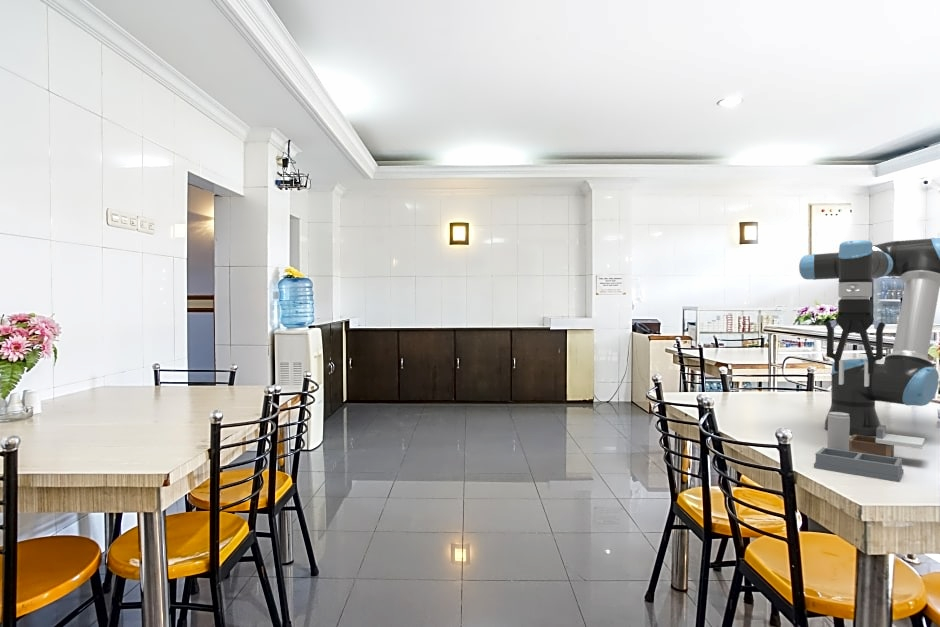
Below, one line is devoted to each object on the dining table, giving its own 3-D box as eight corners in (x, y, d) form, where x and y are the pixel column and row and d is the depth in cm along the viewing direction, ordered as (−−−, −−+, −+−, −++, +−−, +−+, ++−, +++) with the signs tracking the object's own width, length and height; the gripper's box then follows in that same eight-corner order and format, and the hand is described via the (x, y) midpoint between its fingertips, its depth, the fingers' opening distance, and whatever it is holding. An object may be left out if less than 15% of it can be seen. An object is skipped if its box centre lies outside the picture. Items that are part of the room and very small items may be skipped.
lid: (880, 436, 155) (880, 424, 155) (924, 442, 149) (924, 429, 149) (875, 442, 148) (875, 429, 148) (921, 448, 142) (922, 435, 142)
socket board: (821, 460, 149) (821, 447, 149) (903, 473, 138) (903, 458, 138) (813, 467, 142) (814, 453, 142) (899, 481, 131) (899, 466, 131)
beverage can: (823, 458, 152) (823, 412, 151) (835, 456, 154) (835, 411, 153) (841, 462, 147) (841, 415, 147) (853, 460, 149) (854, 414, 149)
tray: (853, 450, 159) (853, 434, 159) (893, 456, 153) (894, 439, 153) (847, 457, 152) (848, 440, 152) (889, 463, 147) (889, 445, 146)
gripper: (813, 298, 158) (812, 383, 158) (894, 298, 146) (893, 389, 146) (819, 298, 164) (818, 380, 164) (898, 298, 152) (896, 386, 152)
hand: (853, 384), depth 155 cm, fingers open, 5 cm apart
